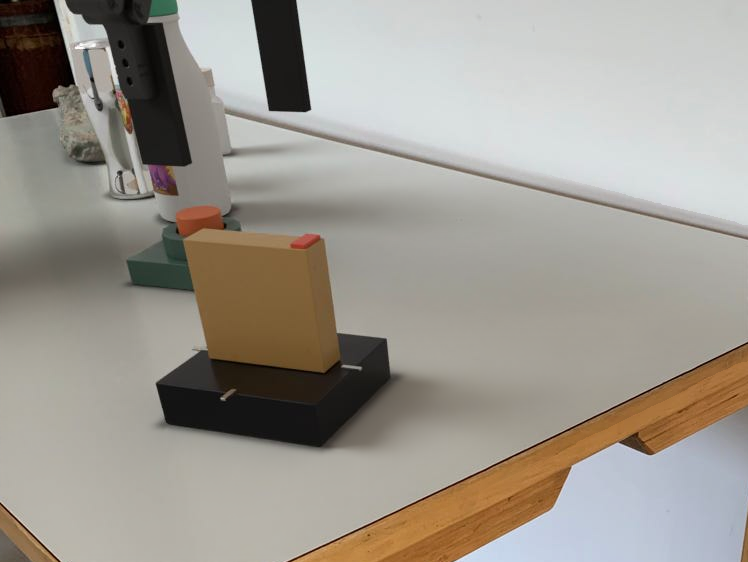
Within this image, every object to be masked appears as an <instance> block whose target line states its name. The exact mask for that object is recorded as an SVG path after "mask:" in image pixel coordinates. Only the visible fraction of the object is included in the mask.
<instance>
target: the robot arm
mask: <svg viewBox="0 0 748 562" xmlns="http://www.w3.org/2000/svg"><path fill="white" fill-rule="evenodd" d="M64 2H65V5H66V7H67V9H68V11H69V12H71V13H72V14H73V15H79V16H80V15H81V17H82V19H83V21H84V22H85V23H86V24H87V25H91V26H92V25H93V26H95V25H96V26H98V25H100V26H101V25H102V26H103V28H104V31H105V33H106V38H108V41H109V45H110V49H111V53H112V57H113V61H114V65H115V66H116V67H115V69H116V73H117V75H118V77H117V78H118V82H119V86H120V89H121V91H122V93H123V95H124V97H125V99H127V102H128V106H129V110H130V114H131V118H132V122H133V126H134V131H135V135H136V139H137V143H138V147H139V151H140V156H141V160H142V164H143V165H161V166H180V167H185V166H187V165H190V164H192V159H191V154H190V150H189V145H188V140H187V136H186V131H185V126H184V121H183V117H182V112H181V107H180V102H179V98H178V93H177V88H176V84H175V79H174V74H173V69H172V65H171V60H170V55H169V50H168V46H167V41H166V36H165V32H164V27H163V23H147V22H148V19H149V14H150V9H151V3H152V0H64ZM250 2H251V9H252V15H253V21H254V28H255V33H256V41H257V47H258V52H259V58H260V65H261V71H262V77H263V82H264V84H263V85H264V90H265V97H266V102H267V107H268V112H280V113H281V112H282V113H283V112H284V113H308V112H310V111H312V104H311V96H310V88H309V81H308V74H307V67H306V62H305V61H306V60H305V53H304V46H303V39H302V30H301V24H300V16H299V9H298V2H297V0H250Z"/></svg>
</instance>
